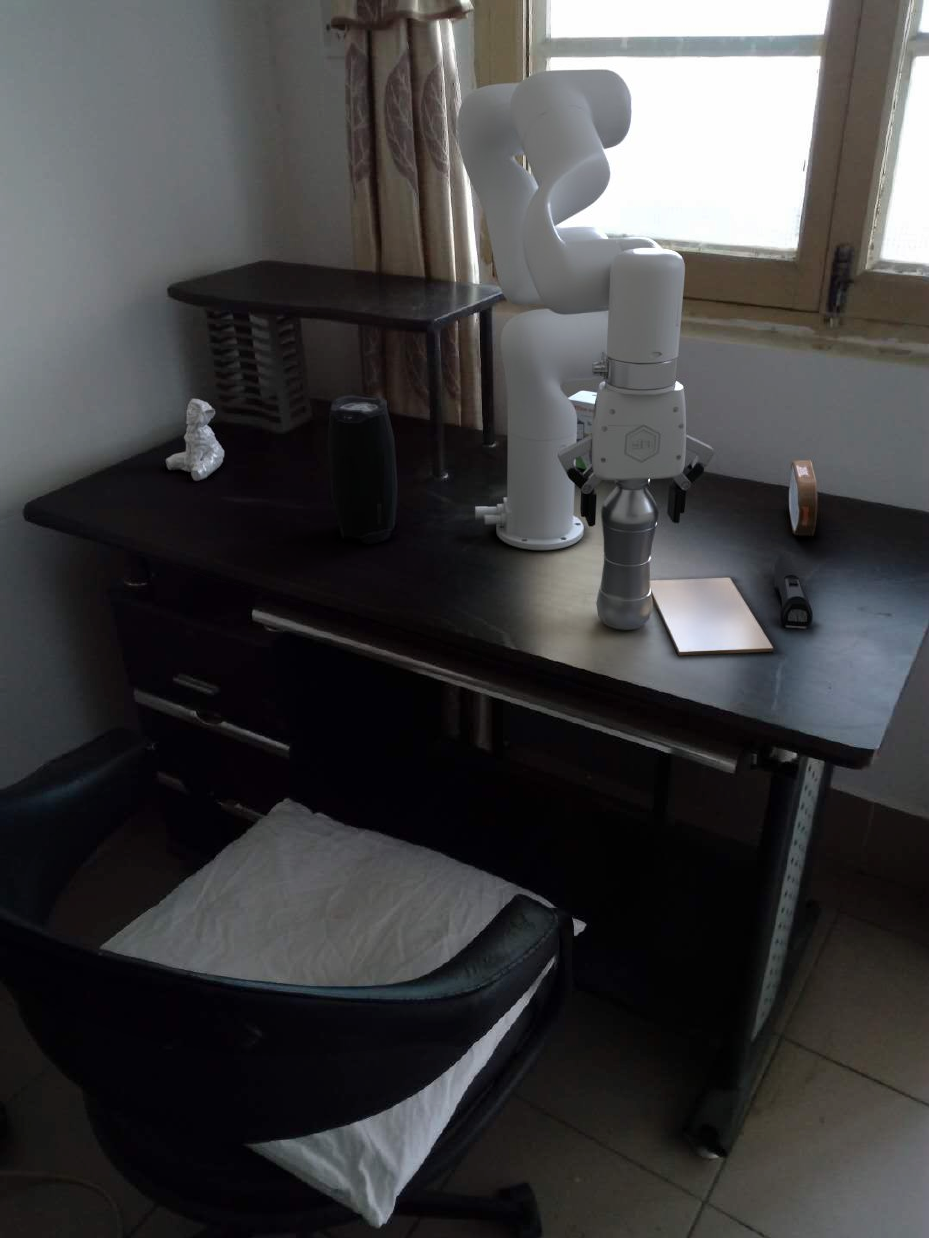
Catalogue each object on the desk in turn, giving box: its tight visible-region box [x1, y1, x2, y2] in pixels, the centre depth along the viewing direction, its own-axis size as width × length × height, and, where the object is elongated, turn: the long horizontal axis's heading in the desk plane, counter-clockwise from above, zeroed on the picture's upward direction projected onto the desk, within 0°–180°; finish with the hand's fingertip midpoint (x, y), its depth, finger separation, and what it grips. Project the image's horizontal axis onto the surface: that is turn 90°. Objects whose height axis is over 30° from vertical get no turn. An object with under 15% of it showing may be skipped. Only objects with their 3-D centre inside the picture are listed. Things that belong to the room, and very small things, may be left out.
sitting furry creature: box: [165, 398, 225, 482], centre depth 168 cm, size 10×9×12 cm
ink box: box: [567, 390, 597, 470], centre depth 166 cm, size 9×5×12 cm, turn 55°
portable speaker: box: [327, 394, 398, 545], centre depth 142 cm, size 9×9×20 cm
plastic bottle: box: [595, 479, 660, 631], centre depth 118 cm, size 6×7×20 cm
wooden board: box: [650, 577, 774, 656], centre depth 124 cm, size 11×18×1 cm, turn 3°
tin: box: [788, 459, 818, 537], centre depth 146 cm, size 15×3×8 cm, turn 168°
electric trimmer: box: [773, 551, 814, 630], centre depth 127 cm, size 4×16×3 cm, turn 170°
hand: (631, 520), depth 116 cm, fingers open, 9 cm apart
